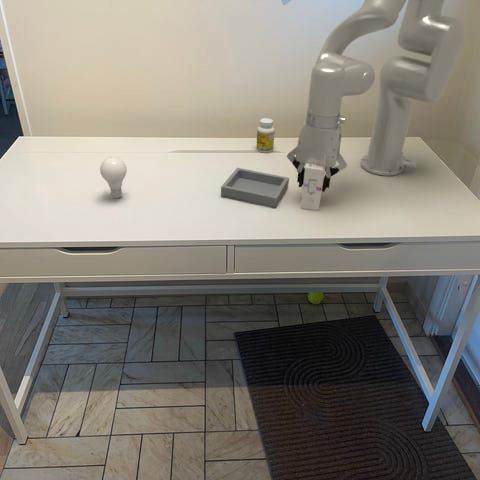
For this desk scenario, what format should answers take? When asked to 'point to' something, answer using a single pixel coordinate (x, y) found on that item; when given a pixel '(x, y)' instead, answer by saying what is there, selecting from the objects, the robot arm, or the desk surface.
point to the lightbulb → (114, 174)
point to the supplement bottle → (265, 136)
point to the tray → (255, 187)
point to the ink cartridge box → (312, 186)
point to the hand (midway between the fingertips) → (312, 186)
